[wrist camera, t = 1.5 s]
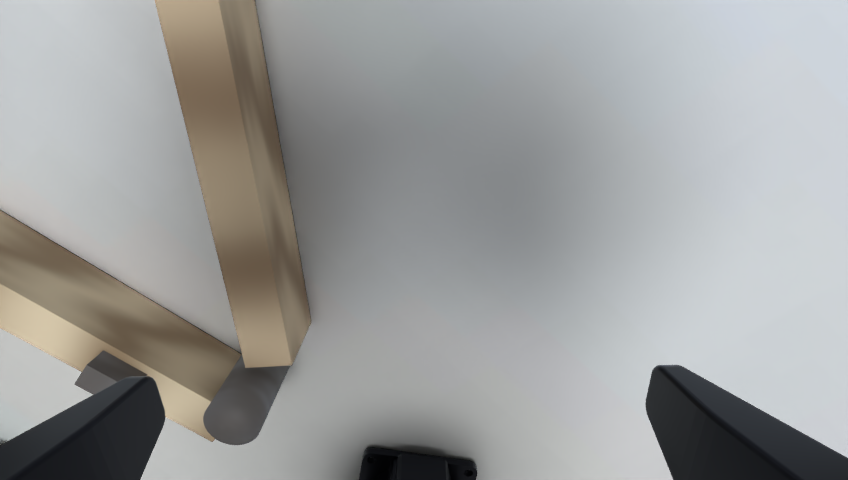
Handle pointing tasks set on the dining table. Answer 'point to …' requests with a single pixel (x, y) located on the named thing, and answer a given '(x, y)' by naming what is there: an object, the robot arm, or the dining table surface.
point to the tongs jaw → (240, 170)
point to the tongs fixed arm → (127, 338)
